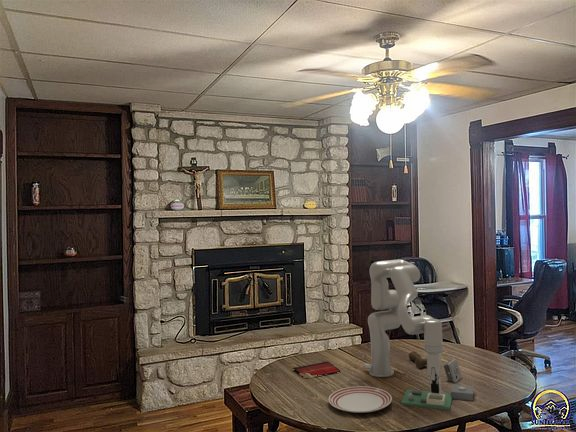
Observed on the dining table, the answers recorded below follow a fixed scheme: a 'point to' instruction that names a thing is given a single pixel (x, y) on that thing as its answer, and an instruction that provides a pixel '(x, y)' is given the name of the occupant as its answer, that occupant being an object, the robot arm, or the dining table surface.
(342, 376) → the dining table surface
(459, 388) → the grey knob block
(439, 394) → the plug
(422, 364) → the brown bone-shaped piece
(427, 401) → the board
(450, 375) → the electrical switch
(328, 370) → the binder
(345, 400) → the dinner plate
